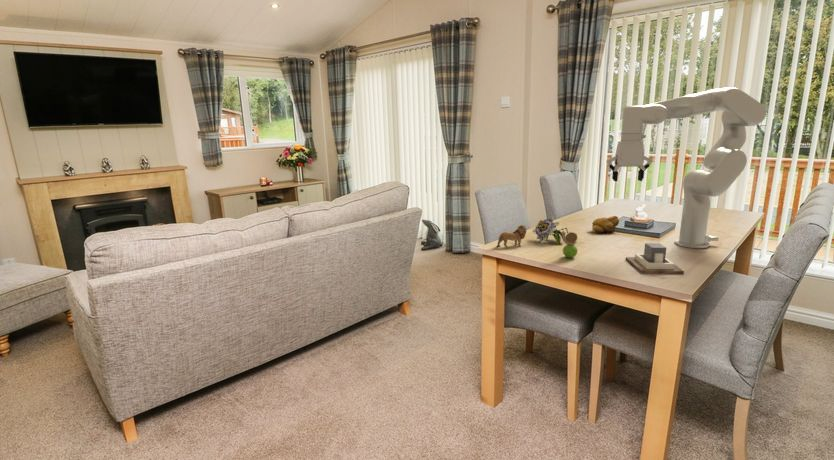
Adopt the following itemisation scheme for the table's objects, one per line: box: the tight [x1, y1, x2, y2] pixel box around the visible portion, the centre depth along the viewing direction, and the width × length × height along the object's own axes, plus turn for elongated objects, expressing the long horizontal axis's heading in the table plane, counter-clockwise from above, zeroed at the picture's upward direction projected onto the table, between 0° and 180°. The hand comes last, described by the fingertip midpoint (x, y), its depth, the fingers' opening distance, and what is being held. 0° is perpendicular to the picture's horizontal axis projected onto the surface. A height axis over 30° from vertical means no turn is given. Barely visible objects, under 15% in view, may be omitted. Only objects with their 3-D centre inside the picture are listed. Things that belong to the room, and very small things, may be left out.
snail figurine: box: [561, 228, 578, 259], centre depth 173 cm, size 5×6×12 cm
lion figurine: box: [496, 224, 527, 249], centre depth 191 cm, size 15×5×9 cm, turn 111°
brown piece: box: [625, 253, 685, 275], centre depth 161 cm, size 14×16×3 cm
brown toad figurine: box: [592, 215, 620, 234], centre depth 212 cm, size 13×10×8 cm
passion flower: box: [532, 216, 569, 245], centre depth 197 cm, size 13×12×14 cm
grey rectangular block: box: [643, 242, 667, 263], centre depth 160 cm, size 5×7×7 cm
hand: (627, 180), depth 179 cm, fingers open, 9 cm apart
